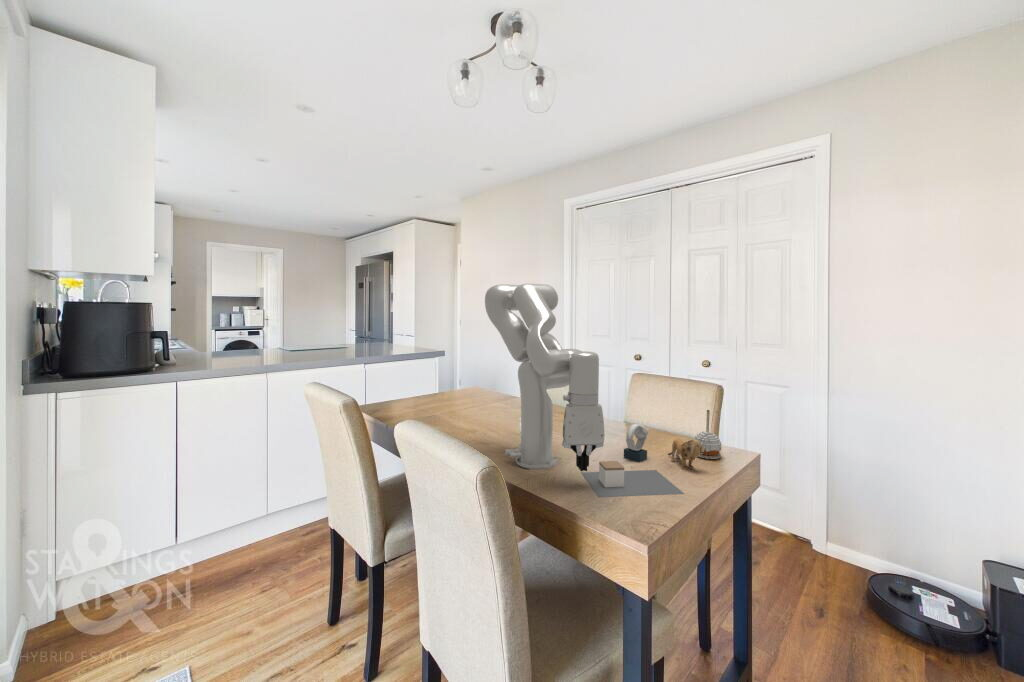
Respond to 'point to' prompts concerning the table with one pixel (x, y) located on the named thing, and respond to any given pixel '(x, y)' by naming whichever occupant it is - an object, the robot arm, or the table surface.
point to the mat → (633, 484)
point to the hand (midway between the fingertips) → (582, 469)
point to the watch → (636, 451)
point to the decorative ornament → (709, 442)
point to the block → (611, 474)
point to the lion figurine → (686, 451)
